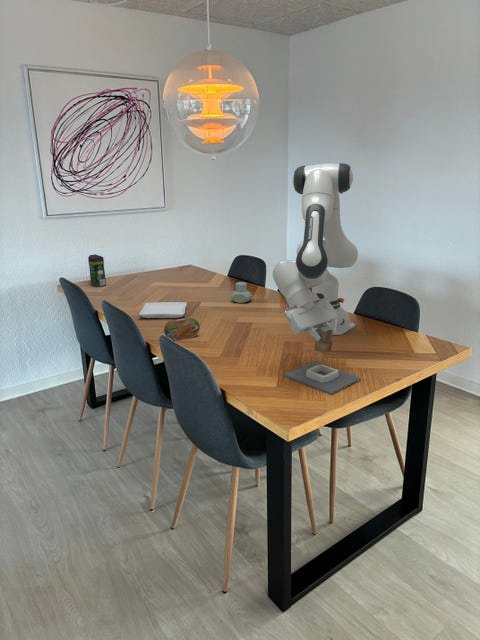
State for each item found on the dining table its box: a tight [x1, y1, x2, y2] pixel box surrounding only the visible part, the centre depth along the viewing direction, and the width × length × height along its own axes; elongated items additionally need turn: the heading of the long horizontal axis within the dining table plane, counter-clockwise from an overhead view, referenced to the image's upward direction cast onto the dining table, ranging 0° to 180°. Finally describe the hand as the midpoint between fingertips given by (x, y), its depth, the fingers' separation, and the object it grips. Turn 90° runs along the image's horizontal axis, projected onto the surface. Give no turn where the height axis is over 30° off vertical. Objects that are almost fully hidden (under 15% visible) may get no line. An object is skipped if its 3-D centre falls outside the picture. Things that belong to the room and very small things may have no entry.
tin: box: [163, 317, 201, 342], centre depth 207 cm, size 15×3×8 cm, turn 115°
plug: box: [314, 325, 333, 354], centre depth 164 cm, size 4×4×8 cm
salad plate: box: [139, 301, 188, 319], centre depth 242 cm, size 21×21×3 cm
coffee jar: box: [87, 254, 107, 288], centre depth 297 cm, size 10×8×19 cm
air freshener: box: [230, 281, 253, 304], centre depth 260 cm, size 11×8×10 cm
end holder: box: [283, 361, 362, 395], centre depth 168 cm, size 16×20×3 cm
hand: (325, 337), depth 163 cm, fingers closed on plug, 4 cm apart
